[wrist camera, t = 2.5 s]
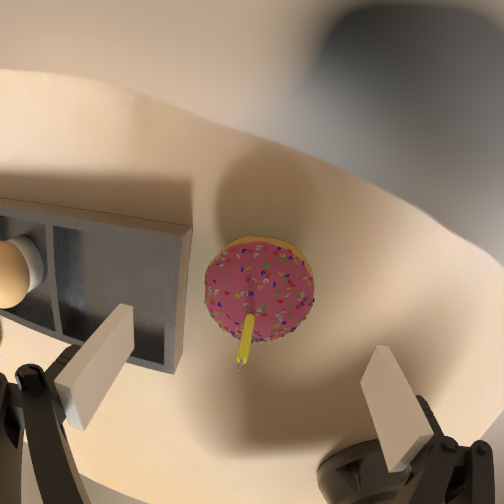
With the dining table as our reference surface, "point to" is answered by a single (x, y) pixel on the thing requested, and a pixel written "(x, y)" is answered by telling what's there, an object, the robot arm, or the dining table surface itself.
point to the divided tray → (104, 276)
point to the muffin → (18, 270)
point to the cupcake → (258, 290)
